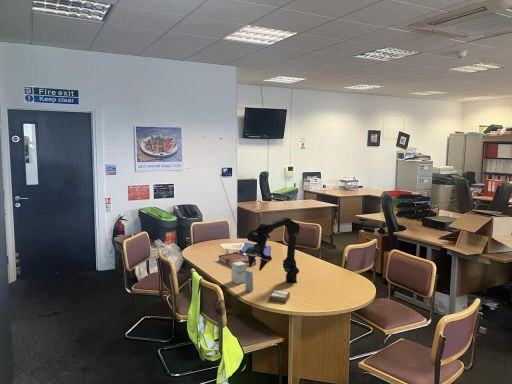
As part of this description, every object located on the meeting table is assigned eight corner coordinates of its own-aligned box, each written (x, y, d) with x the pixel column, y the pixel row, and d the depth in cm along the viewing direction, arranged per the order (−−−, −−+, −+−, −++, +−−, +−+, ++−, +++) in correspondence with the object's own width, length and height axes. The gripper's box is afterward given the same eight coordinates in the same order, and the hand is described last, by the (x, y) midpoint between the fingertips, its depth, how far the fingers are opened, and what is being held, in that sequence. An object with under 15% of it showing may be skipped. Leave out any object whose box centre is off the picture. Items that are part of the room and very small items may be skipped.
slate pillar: (252, 289, 249) (253, 270, 248) (253, 292, 245) (253, 272, 243) (245, 289, 249) (245, 270, 248) (245, 292, 244) (245, 272, 243)
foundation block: (273, 294, 240) (273, 289, 240) (289, 296, 237) (289, 291, 237) (269, 300, 231) (269, 295, 231) (285, 303, 228) (286, 297, 228)
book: (217, 261, 310) (217, 255, 309) (236, 257, 320) (236, 251, 320) (236, 270, 289) (236, 263, 288) (255, 265, 300) (255, 259, 299)
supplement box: (237, 284, 258) (237, 265, 256) (231, 281, 264) (231, 262, 262) (246, 282, 262) (246, 263, 261) (240, 279, 268) (240, 260, 267)
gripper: (241, 238, 245) (235, 263, 243) (262, 244, 231) (255, 271, 229) (254, 241, 252) (248, 265, 251) (275, 247, 238) (268, 273, 237)
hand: (254, 268), depth 242 cm, fingers open, 9 cm apart
